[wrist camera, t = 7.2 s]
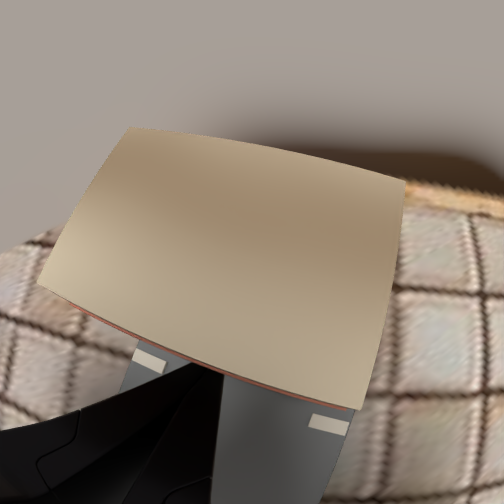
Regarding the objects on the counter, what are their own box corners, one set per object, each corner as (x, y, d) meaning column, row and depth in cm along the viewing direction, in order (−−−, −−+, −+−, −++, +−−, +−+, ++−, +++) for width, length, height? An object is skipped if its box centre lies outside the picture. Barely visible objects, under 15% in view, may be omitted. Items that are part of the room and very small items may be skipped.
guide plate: (229, 644, 6) (225, 654, 5) (71, 573, 9) (61, 579, 8) (378, 305, 15) (385, 297, 14) (188, 250, 17) (181, 239, 16)
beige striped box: (310, 402, 12) (363, 414, 4) (174, 355, 13) (34, 284, 5) (339, 310, 14) (408, 180, 5) (208, 271, 15) (128, 125, 7)
